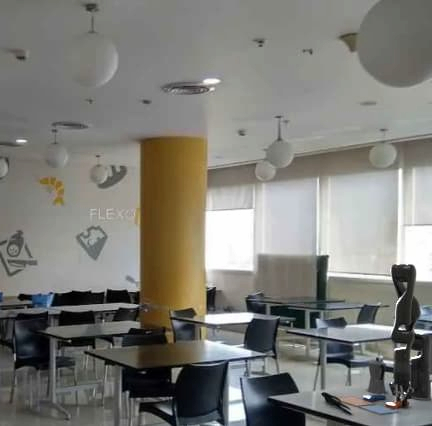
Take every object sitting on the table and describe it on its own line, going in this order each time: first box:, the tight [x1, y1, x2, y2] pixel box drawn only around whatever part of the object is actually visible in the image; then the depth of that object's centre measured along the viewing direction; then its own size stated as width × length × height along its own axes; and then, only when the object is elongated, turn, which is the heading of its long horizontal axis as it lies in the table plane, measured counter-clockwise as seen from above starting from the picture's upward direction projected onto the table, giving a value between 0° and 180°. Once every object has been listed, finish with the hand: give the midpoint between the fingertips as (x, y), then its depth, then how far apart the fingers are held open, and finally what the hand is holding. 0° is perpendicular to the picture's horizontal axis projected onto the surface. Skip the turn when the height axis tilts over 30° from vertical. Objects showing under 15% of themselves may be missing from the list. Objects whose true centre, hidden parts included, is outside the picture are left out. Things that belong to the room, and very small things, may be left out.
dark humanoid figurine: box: [320, 391, 353, 416], centre depth 294 cm, size 8×9×25 cm
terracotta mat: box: [335, 396, 376, 407], centre depth 306 cm, size 12×14×1 cm
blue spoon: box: [362, 393, 387, 403], centre depth 311 cm, size 14×5×3 cm, turn 114°
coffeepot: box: [367, 357, 387, 394], centre depth 330 cm, size 15×9×18 cm, turn 178°
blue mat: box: [359, 404, 399, 415], centre depth 292 cm, size 12×12×1 cm
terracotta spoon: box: [385, 400, 410, 410], centre depth 299 cm, size 14×5×3 cm, turn 115°
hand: (401, 406), depth 299 cm, fingers closed on terracotta spoon, 2 cm apart
